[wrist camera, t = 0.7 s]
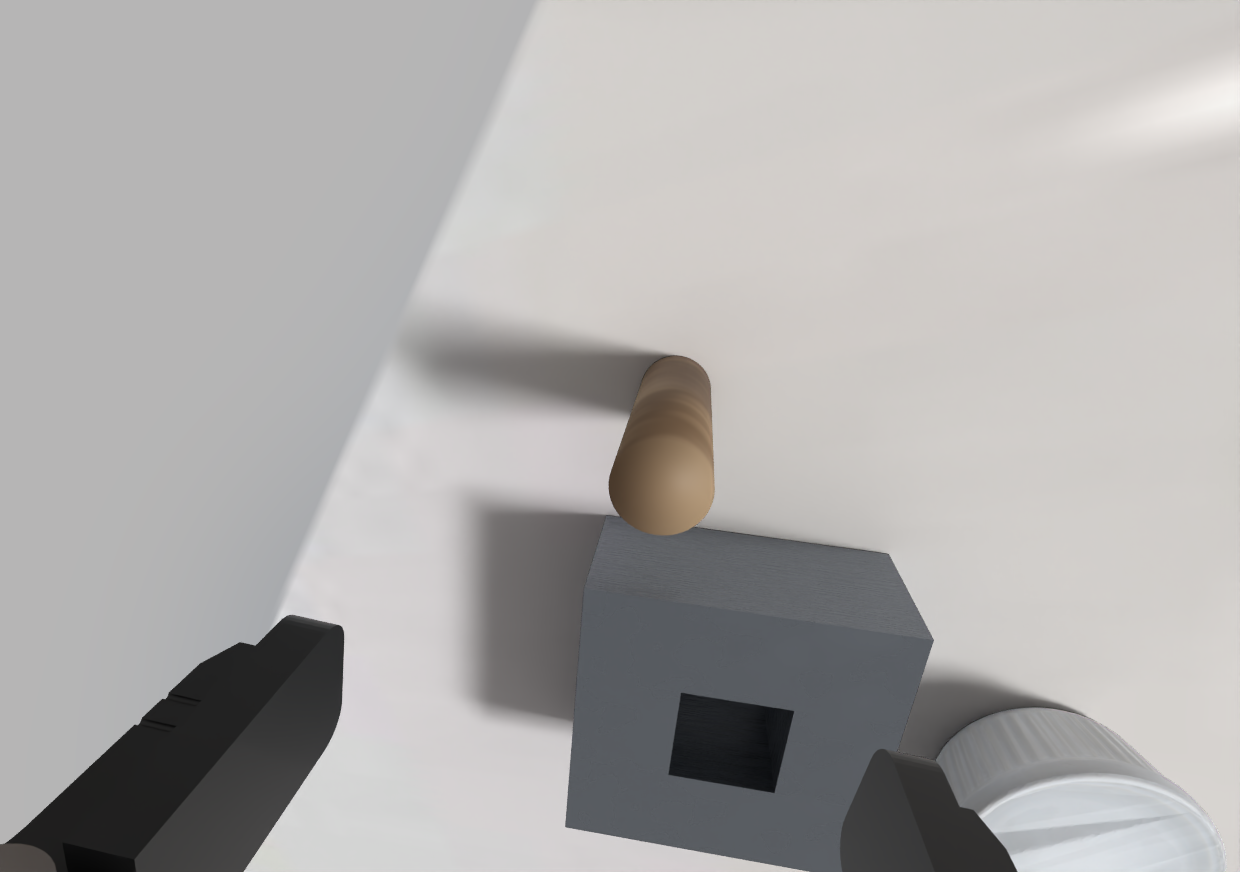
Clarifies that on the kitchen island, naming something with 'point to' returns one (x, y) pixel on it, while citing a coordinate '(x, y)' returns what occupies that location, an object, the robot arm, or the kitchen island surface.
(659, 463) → the walnut peg
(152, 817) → the robot arm
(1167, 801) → the ramekin
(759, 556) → the hole block
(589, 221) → the kitchen island surface
